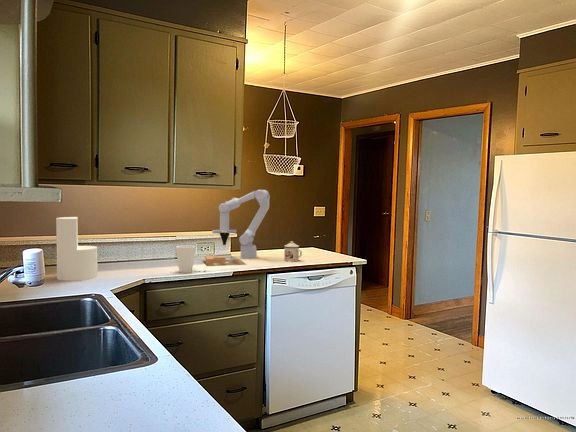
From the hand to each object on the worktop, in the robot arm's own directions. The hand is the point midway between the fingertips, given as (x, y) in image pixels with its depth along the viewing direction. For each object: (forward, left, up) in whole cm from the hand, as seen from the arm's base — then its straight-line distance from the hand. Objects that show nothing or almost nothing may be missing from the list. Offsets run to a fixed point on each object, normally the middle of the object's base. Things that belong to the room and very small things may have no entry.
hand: (224, 244), depth 274 cm
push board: (+5, +23, -8) cm, 25 cm away
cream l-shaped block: (+78, +41, -9) cm, 88 cm away
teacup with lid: (-38, +20, -9) cm, 44 cm away
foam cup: (+28, +40, -9) cm, 49 cm away
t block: (+9, +22, -7) cm, 25 cm away
